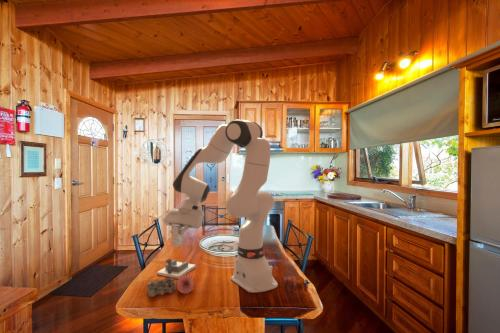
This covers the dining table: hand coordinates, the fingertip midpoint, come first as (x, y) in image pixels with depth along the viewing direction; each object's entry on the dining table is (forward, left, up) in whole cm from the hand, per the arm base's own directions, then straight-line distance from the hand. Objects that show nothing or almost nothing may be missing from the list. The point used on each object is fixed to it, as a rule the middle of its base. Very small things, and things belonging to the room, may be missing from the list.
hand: (176, 233), depth 126 cm
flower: (-22, 0, -18) cm, 28 cm away
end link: (0, 0, -6) cm, 6 cm away
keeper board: (0, 0, -18) cm, 18 cm away
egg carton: (-17, +9, -19) cm, 27 cm away
